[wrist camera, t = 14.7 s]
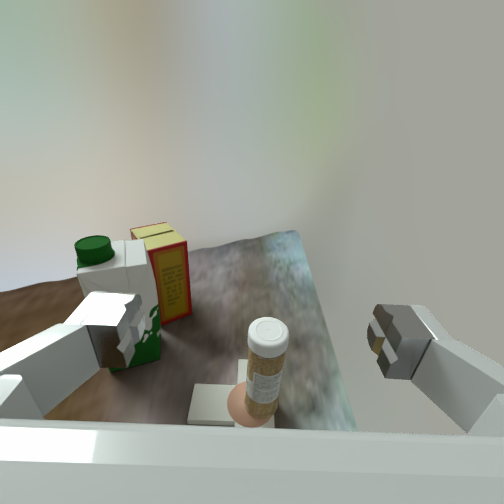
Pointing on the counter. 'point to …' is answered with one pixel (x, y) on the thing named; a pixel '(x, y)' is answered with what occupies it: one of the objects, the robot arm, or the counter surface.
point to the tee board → (224, 404)
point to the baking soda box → (168, 269)
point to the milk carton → (123, 284)
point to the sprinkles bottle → (265, 365)
